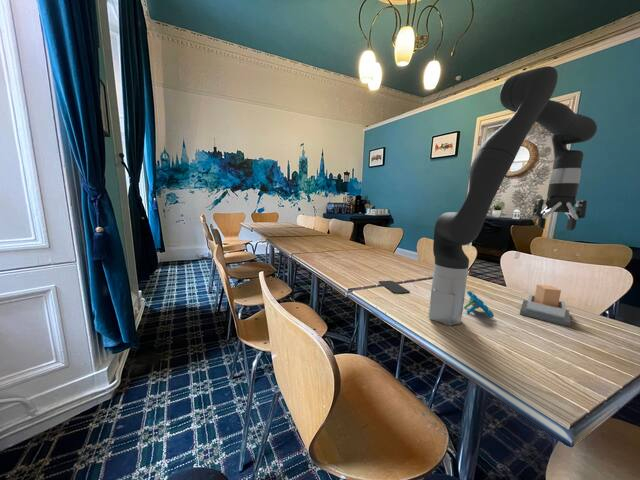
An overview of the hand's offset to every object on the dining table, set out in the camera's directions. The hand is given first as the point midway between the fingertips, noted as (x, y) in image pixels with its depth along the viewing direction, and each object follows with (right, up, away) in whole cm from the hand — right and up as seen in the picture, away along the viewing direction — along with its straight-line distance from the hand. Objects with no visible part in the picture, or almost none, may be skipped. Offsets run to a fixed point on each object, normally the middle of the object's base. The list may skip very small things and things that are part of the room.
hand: (555, 229), depth 89 cm
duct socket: (-8, -29, -4) cm, 30 cm away
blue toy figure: (-31, -29, -5) cm, 43 cm away
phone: (-53, -24, +18) cm, 61 cm away
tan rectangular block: (-8, -27, -4) cm, 29 cm away
